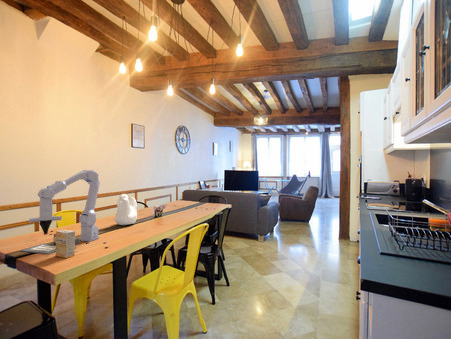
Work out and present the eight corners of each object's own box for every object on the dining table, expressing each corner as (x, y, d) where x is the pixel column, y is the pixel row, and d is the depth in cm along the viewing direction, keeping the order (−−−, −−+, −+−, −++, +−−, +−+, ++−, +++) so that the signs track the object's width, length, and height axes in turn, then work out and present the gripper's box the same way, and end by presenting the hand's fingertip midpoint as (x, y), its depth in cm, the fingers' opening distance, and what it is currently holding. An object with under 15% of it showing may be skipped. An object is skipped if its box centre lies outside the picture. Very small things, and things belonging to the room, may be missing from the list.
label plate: (68, 247, 138) (68, 245, 138) (48, 254, 127) (48, 253, 127) (42, 244, 142) (42, 243, 142) (21, 251, 130) (21, 249, 130)
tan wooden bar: (51, 243, 142) (51, 234, 142) (58, 241, 145) (58, 233, 145) (72, 247, 135) (72, 238, 135) (79, 245, 139) (79, 236, 138)
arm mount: (62, 243, 145) (62, 242, 145) (55, 245, 141) (55, 244, 140) (56, 242, 146) (56, 241, 146) (49, 245, 141) (49, 243, 141)
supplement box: (55, 256, 124) (55, 231, 124) (64, 253, 129) (64, 228, 129) (66, 258, 121) (66, 232, 121) (75, 255, 126) (75, 230, 126)
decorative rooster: (125, 228, 182) (125, 195, 182) (109, 226, 188) (109, 194, 188) (147, 221, 205) (147, 192, 205) (132, 219, 211) (132, 191, 211)
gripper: (62, 207, 141) (62, 230, 141) (31, 209, 134) (31, 233, 135) (60, 209, 135) (60, 234, 135) (28, 211, 128) (27, 237, 128)
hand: (45, 234), depth 134 cm, fingers closed
